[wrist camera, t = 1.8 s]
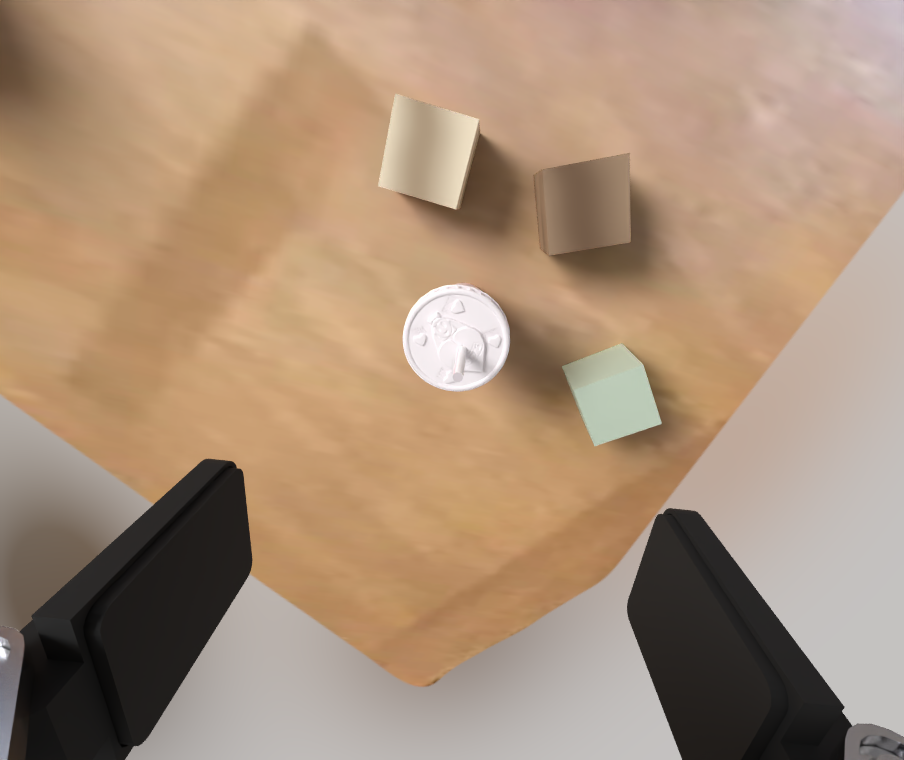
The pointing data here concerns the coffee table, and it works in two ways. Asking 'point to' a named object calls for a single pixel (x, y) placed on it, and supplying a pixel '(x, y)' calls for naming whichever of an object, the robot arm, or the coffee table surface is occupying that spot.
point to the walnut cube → (584, 205)
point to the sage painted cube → (612, 394)
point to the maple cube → (429, 152)
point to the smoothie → (456, 337)
